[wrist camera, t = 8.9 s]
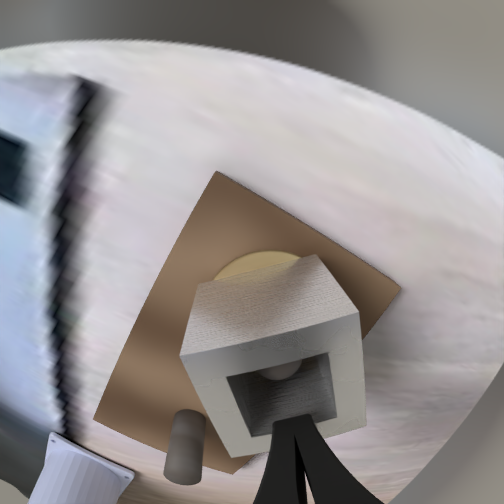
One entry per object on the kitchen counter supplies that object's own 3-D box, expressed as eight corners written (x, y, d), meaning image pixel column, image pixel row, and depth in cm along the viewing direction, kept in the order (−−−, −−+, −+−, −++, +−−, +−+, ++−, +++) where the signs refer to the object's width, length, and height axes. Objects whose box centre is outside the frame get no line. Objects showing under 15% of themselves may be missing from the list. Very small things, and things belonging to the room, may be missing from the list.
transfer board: (232, 464, 21) (233, 523, 15) (97, 410, 18) (72, 468, 13) (393, 280, 16) (447, 330, 11) (216, 170, 14) (204, 180, 9)
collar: (332, 350, 16) (366, 425, 10) (231, 375, 16) (231, 457, 11) (316, 254, 14) (359, 311, 9) (198, 284, 14) (179, 356, 9)
